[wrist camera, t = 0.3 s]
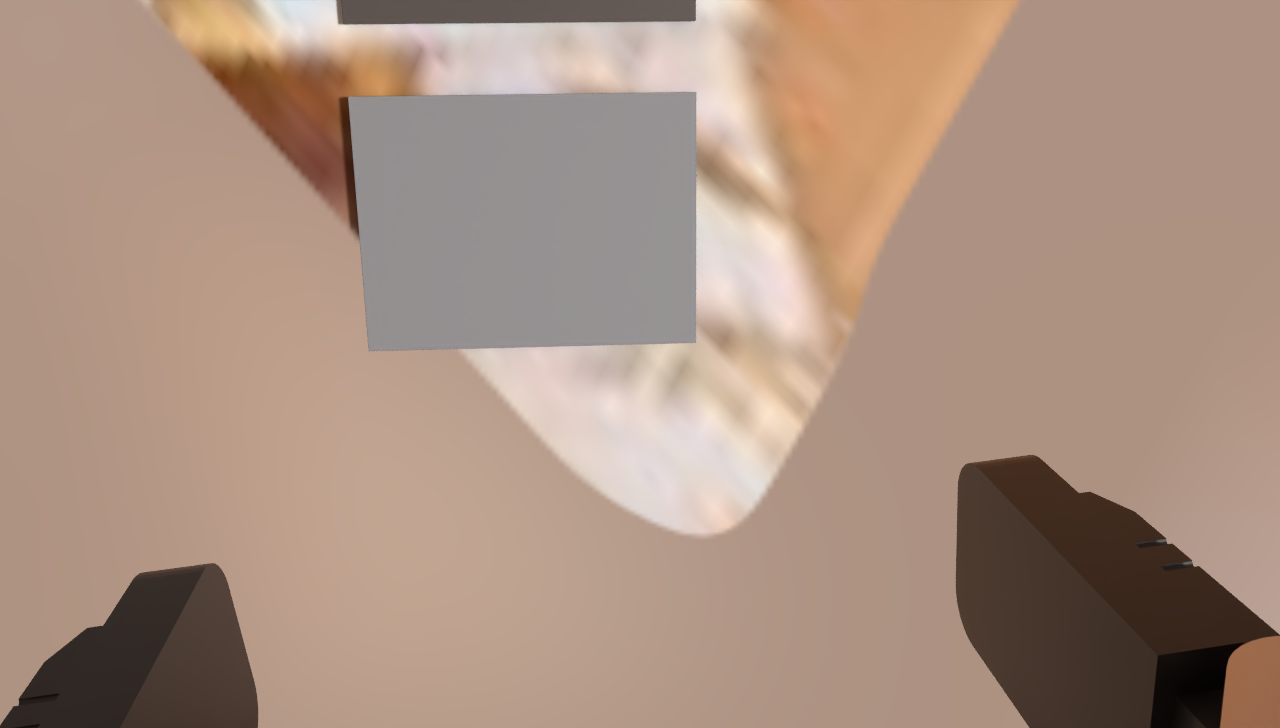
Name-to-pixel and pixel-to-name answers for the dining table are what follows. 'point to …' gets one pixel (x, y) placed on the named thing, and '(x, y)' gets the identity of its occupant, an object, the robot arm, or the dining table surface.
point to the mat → (526, 219)
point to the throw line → (514, 11)
